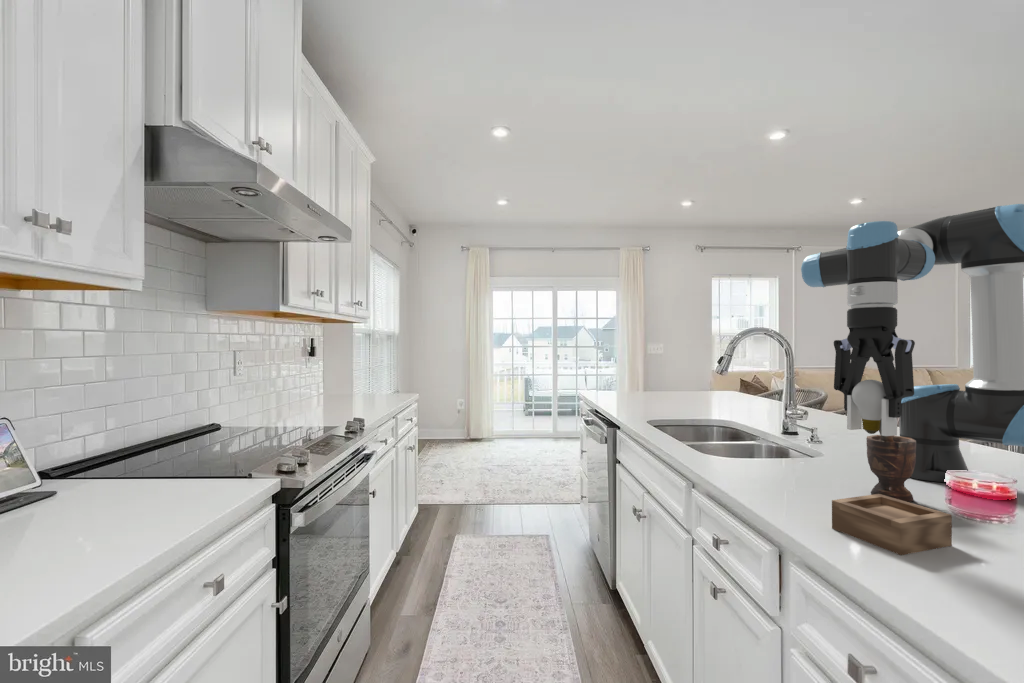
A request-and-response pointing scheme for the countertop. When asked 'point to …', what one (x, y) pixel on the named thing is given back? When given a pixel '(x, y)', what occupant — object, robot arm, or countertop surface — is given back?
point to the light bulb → (869, 403)
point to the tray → (892, 523)
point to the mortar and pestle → (891, 464)
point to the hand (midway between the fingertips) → (871, 431)
